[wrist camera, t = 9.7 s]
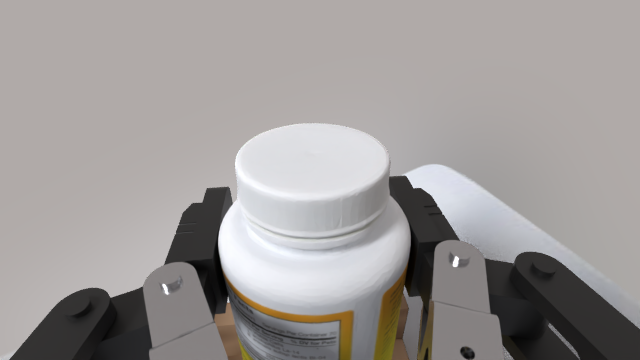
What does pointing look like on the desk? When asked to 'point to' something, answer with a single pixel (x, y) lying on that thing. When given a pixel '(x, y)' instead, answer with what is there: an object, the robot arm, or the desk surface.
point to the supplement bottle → (314, 246)
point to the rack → (233, 347)
